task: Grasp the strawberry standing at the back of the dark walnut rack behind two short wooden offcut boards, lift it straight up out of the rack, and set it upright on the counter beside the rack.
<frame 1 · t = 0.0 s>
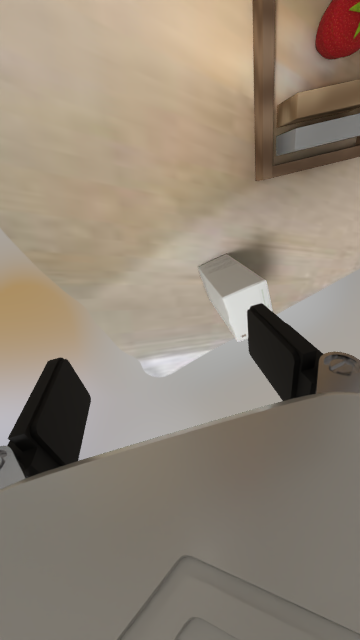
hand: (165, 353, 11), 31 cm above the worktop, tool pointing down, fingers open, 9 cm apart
strawberry: (319, 45, 30), on the worktop
inner offcut board: (313, 108, 33), resting in rack
skincare box: (216, 277, 44), on the worktop
outer offcut board: (311, 138, 35), resting in rack
rack: (320, 44, 30), on the worktop
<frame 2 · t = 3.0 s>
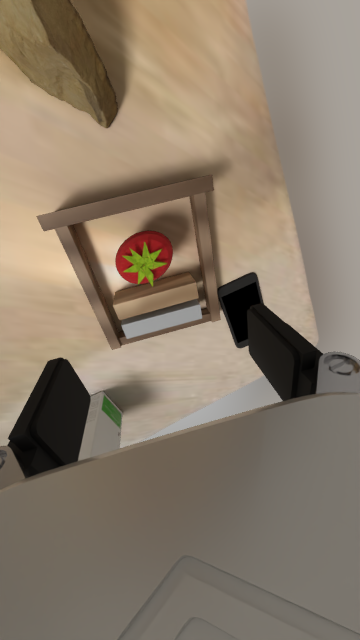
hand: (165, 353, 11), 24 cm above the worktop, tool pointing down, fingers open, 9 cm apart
rock: (64, 80, 23), on the worktop
strawberry: (142, 248, 32), on the worktop
smartphone: (243, 312, 42), on the worktop
inner offcut board: (154, 288, 36), resting in rack
skincare box: (99, 406, 46), on the worktop
outer offcut board: (159, 307, 37), resting in rack
rack: (142, 248, 32), on the worktop
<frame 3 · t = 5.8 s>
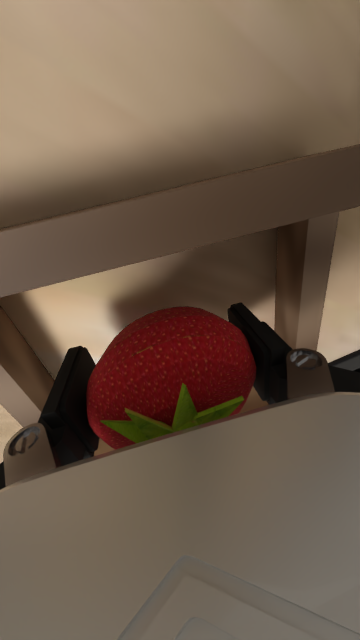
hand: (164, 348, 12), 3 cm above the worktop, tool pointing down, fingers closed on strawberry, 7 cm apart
strawberry: (158, 319, 14), on the worktop, touching gripper
smartphone: (330, 404, 24), on the worktop
inner offcut board: (178, 386, 18), resting in rack
rack: (158, 321, 14), on the worktop
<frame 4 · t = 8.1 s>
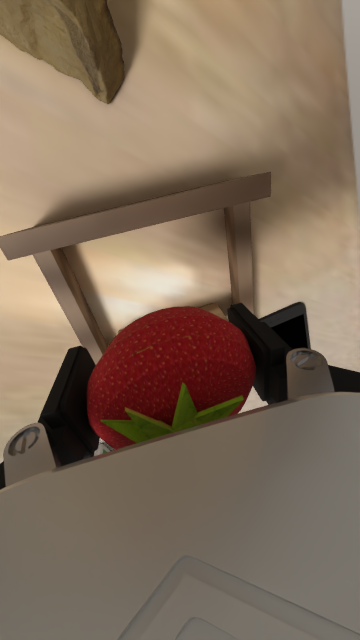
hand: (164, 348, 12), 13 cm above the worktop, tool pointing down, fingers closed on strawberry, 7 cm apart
rock: (42, 27, 14), on the worktop
strawberry: (158, 319, 14), point 10 cm above the worktop, touching gripper
smartphone: (282, 349, 33), on the worktop
rack: (156, 275, 23), on the worktop
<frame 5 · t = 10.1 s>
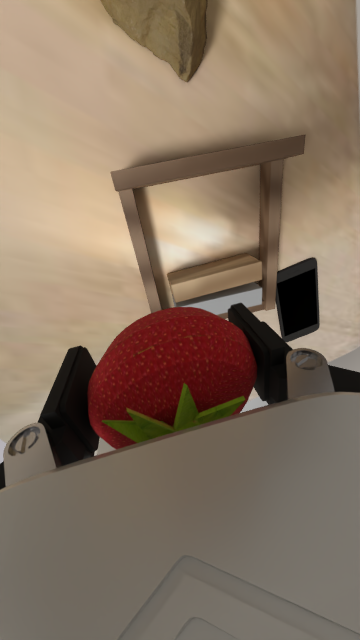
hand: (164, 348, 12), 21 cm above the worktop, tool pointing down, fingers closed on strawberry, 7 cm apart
rock: (148, 24, 20), on the worktop
strawberry: (159, 319, 14), point 18 cm above the worktop, touching gripper
smartphone: (295, 302, 39), on the worktop
inner offcut board: (207, 271, 33), resting in rack
outer offcut board: (210, 292, 35), resting in rack
rack: (202, 225, 29), on the worktop
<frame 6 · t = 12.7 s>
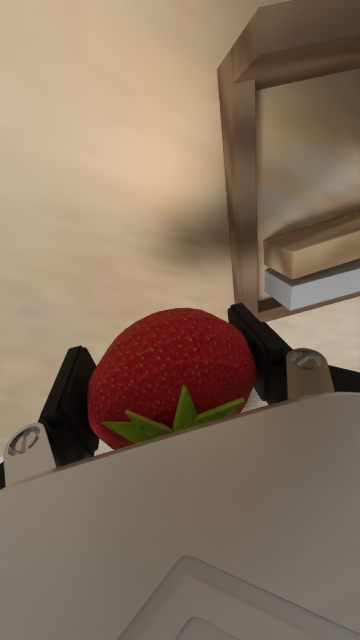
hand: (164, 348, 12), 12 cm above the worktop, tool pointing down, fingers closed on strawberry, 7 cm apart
strawberry: (159, 320, 14), point 9 cm above the worktop, touching gripper
inner offcut board: (316, 235, 23), resting in rack
outer offcut board: (313, 267, 25), resting in rack
rack: (328, 160, 19), on the worktop
when the fingers open (4 cm above the worktop, at t = 14.7 s): strawberry drops 1 cm, on the worktop.
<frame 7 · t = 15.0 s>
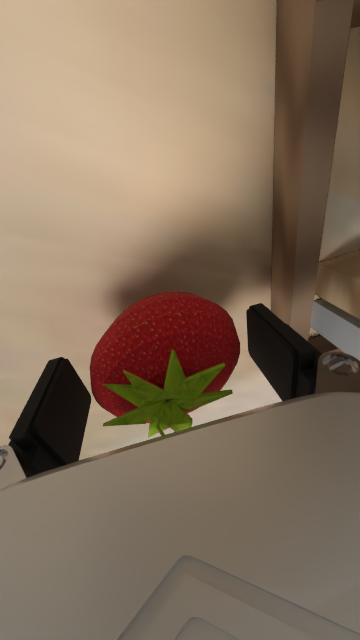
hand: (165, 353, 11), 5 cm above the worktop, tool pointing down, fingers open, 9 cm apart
strawberry: (156, 308, 16), on the worktop
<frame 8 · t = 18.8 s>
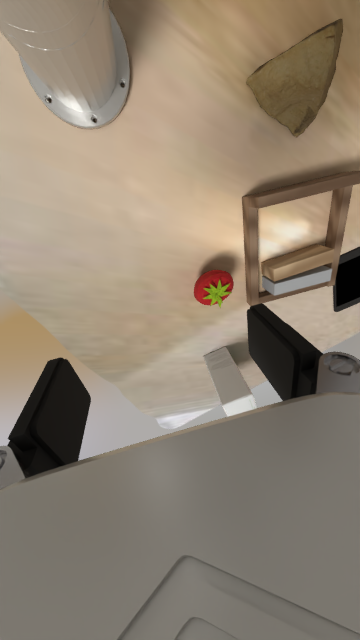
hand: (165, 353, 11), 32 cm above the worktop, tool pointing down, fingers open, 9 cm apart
rock: (278, 105, 33), on the worktop
strawberry: (205, 277, 45), on the worktop
smartphone: (346, 280, 52), on the worktop
inner offcut board: (288, 258, 46), resting in rack
skincare box: (217, 361, 57), on the worktop
outer offcut board: (287, 274, 48), resting in rack
rack: (290, 226, 42), on the worktop
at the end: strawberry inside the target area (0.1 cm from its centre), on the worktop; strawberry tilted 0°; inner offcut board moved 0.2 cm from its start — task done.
